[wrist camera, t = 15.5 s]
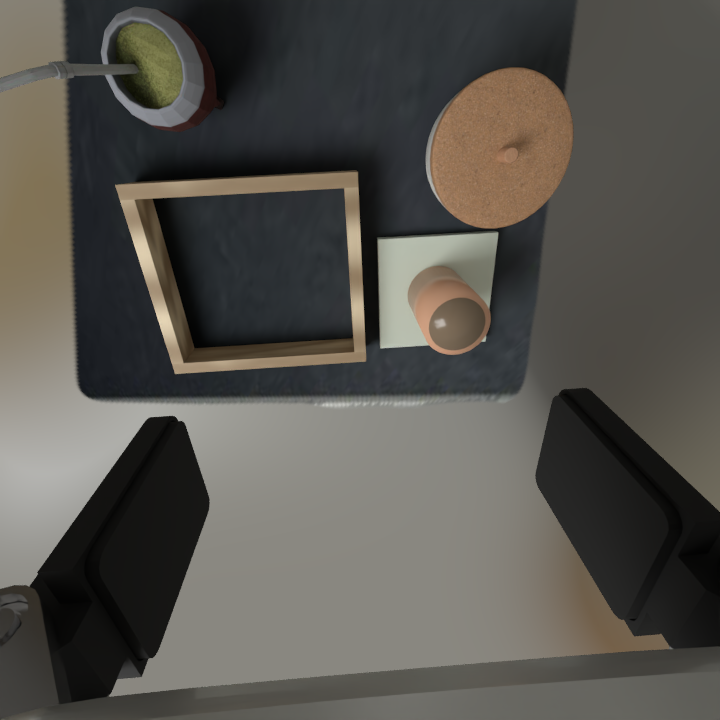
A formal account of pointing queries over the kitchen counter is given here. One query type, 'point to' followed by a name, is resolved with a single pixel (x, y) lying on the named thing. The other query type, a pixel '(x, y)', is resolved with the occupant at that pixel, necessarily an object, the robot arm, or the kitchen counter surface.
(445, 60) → the kitchen counter surface
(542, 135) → the lidded jar
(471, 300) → the terracotta pot
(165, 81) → the mate gourd
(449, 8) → the kitchen counter surface
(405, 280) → the sage tile
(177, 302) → the frame
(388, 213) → the kitchen counter surface
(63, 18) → the kitchen counter surface
